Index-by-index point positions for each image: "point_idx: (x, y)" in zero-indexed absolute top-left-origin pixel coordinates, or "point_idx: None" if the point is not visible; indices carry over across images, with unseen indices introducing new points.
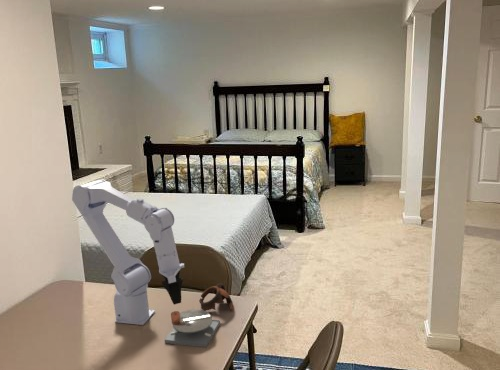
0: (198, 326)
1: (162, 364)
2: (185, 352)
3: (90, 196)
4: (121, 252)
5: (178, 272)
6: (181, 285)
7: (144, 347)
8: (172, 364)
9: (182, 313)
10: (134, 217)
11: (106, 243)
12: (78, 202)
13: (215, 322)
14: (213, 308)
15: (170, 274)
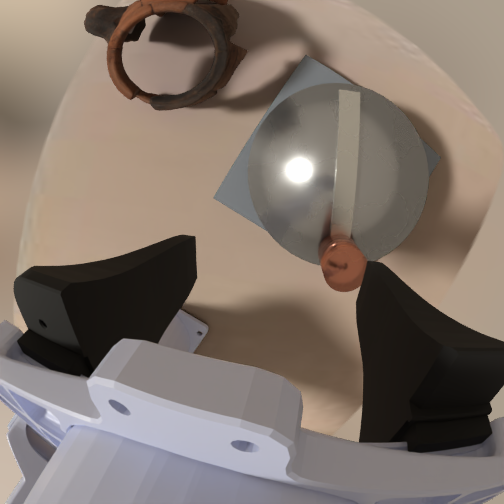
0: (410, 167)
1: (440, 297)
2: (428, 227)
3: None
4: None
5: (98, 292)
6: (470, 329)
7: (339, 335)
8: (454, 273)
9: (267, 209)
10: None
11: None
12: None
13: (314, 74)
14: (241, 56)
15: (476, 501)
